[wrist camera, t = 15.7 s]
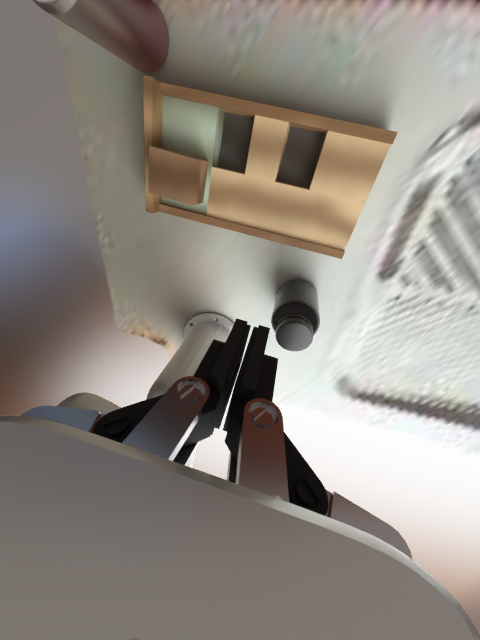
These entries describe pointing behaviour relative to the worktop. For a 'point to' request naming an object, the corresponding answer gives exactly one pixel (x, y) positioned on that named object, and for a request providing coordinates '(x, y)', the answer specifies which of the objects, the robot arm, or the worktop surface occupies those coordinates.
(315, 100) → the worktop surface
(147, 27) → the beverage can
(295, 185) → the trap trough
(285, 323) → the supplement bottle
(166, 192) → the walnut block
